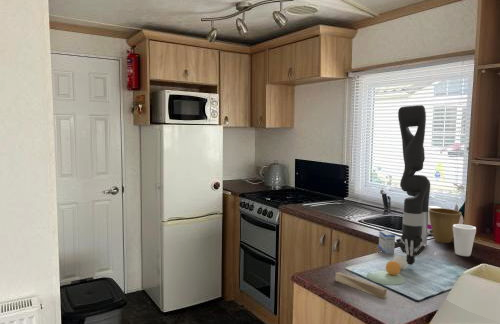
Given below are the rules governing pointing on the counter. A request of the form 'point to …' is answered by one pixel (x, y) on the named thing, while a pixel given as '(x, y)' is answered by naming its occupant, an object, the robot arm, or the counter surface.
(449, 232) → the plant pot
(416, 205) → the robot arm
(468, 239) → the foam cup
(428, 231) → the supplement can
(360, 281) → the light wooden bar
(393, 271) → the orange ball
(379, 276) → the mint mark
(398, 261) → the white ball
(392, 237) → the medicine box
